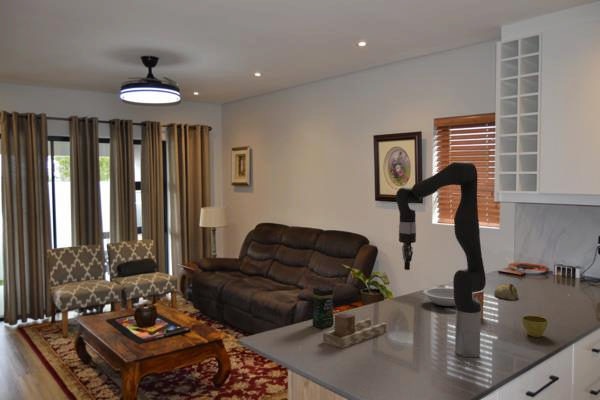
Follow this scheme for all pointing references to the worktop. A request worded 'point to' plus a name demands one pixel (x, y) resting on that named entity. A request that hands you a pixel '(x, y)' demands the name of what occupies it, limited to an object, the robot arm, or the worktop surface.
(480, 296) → the small box
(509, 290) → the pastry
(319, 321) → the coffee jar
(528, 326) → the flower pot
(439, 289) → the soup bowl
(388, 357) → the worktop surface
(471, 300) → the robot arm
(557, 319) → the worktop surface
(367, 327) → the birch chute
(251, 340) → the worktop surface
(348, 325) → the walnut block
